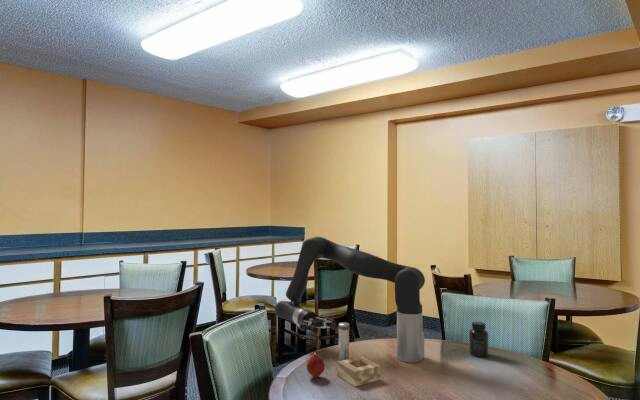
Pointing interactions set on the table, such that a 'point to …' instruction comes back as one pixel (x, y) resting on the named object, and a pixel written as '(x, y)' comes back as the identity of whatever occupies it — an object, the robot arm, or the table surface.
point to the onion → (315, 365)
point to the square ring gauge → (358, 371)
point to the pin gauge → (343, 341)
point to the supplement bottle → (478, 340)
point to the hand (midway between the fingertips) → (326, 328)
